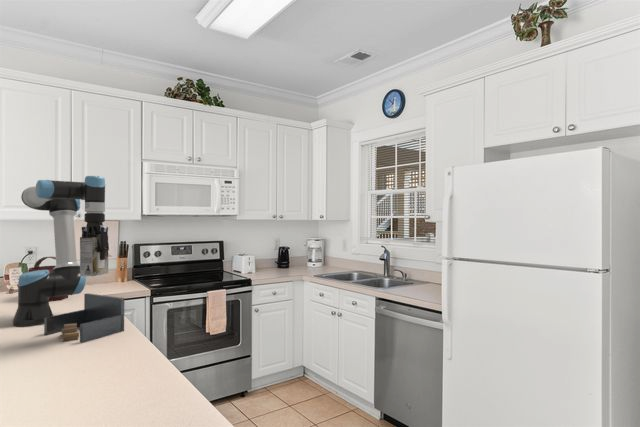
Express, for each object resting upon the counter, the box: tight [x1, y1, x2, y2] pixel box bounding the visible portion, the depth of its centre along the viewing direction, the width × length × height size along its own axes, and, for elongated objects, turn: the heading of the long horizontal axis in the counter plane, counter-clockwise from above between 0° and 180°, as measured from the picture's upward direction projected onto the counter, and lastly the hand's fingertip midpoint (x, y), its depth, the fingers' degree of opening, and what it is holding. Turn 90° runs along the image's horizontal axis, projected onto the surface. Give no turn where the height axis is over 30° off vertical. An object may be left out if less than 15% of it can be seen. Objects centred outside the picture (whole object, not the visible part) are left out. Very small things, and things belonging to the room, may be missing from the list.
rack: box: [43, 292, 125, 344], centre depth 171 cm, size 24×19×14 cm
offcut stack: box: [61, 323, 80, 342], centre depth 165 cm, size 12×6×4 cm, turn 34°
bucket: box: [28, 256, 69, 303], centre depth 239 cm, size 24×22×25 cm
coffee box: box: [79, 236, 109, 277], centre depth 171 cm, size 9×6×16 cm
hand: (94, 267), depth 171 cm, fingers closed on coffee box, 7 cm apart
